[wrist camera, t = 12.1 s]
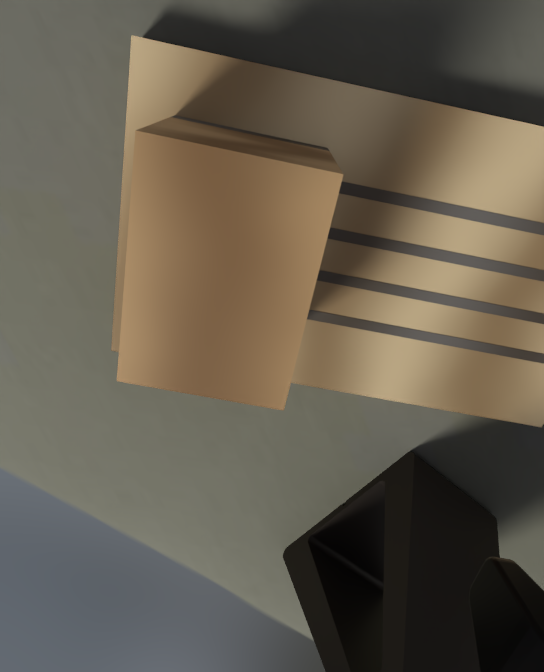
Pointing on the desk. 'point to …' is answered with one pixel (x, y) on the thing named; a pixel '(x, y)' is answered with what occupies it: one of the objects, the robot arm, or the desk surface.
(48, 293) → the desk surface
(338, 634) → the phone stand
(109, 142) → the desk surface
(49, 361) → the desk surface
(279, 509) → the desk surface
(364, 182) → the pine board
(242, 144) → the block
